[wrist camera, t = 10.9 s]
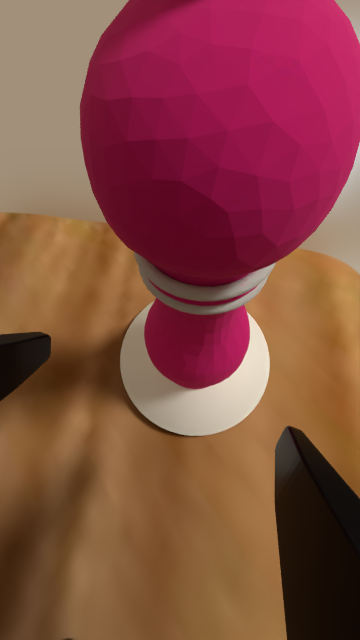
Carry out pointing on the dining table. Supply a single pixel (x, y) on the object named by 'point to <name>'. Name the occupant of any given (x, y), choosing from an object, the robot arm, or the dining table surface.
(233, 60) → the pepper mill
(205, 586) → the dining table surface
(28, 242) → the dining table surface
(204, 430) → the ceramic plate
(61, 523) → the dining table surface
